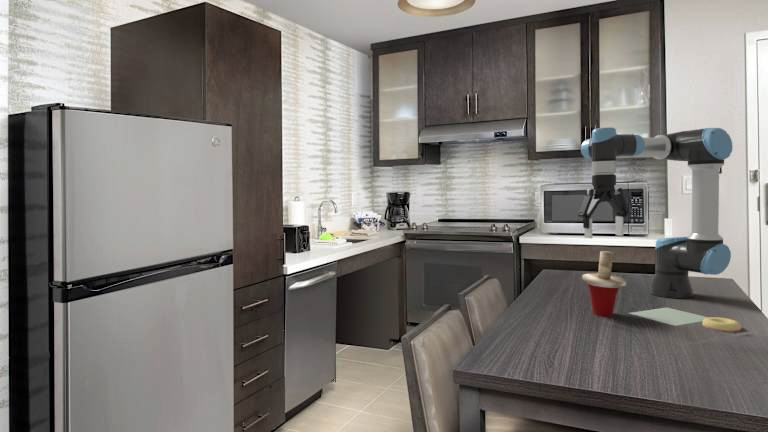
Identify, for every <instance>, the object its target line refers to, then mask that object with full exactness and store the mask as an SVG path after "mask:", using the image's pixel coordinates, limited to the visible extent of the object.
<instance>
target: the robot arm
mask: <svg viewBox="0 0 768 432" xmlns="http://www.w3.org/2000/svg"><path fill="white" fill-rule="evenodd" d="M591 132H592V133H591V138H588V139H585V140H584V141H583V142H582V144H581V146H580V152H581V155H582V157H584V158H585V159H588V160H589V159H590V160H591V173H592V174H593V175H592V176H591V185H592V186H593V188H586V189H585V192H584V194H585V195H584V198H583V199H582V200H583V201H582V202H581V205H580V208H579V211H578V213H577V216H578V217H579V218H580V219H583V220H582V222H583V223H582V225H583V226H582V227H583V229H584V238H585V239H593V218H591V217H592V215H594V212H595V211H596V209H597V208H598V206H599V204H601V203H604V202H605V203H606V202H607V203H609V205H610V206H611V208H612V209H613V211H614V212H615V214H616V216H615V218H614V219H615V220H614V221H615V236H620V237H621V236H622V237H623V236H624V226H625V217H628V215H629V214H630V211H629V210H630V209H629V207H628V205H627V202H626V199H625V198H624V194H623V188H622V187H615V186H616V185H617V175H616V174H615V173H616V172H617V159H623V158H626V159H627V158H629V159H630V158H653V159H655V160H661V161H662V160H665V161H675V162H687V167H688V168H689V169H691V171H692V172H691V173H692V174H691V175H692V176H691V233H690V234H689V235H688V236H677V237H676V236H675V237H663V238H658V239H657V240H655V248H654V254H655V256H654V258H655V261H654V262H655V264H654V265H655V266H654V267H655V271H654V272H655V275H654V278H653V280H652V283H651V285H650V294H651V295H654V296H657V297H662V298H670V299H671V298H672V299H687V298H693V297H694V289H693V287H692V283H691V280H690V277H689V272H691V273H692V272H693V273H698V274H703V275H714V276H715V275H720V274H722V273H723V272H724V271H726V269H727V268H728V267H729V264H730V261H731V257H732V253H731V249H730V247H729V246H728V245H726V244H725V243H724V237H722V236H721V234H720V233H719V220H720V218H719V215H720V214H719V211H720V209H719V207H720V206H719V205H720V200H719V199H720V169H721V168H722V167H723V166H724V165H725V160H727V159H728V158H729V157H730V156H731V153H732V152H733V141H732V138H731V136H730V134H729V133H728V132H727V131H726V130H725V129H724V128H721V127H706V128H699V129H693V130H692V129H691V130H683V131H678V132H672V133H667V134H657V135H656V136H653V137H643V136H641V135H640V134H635V133H629V134H628V133H627V134H626V133H624V134H623V133H622V134H618V133H617V128H615V127H609V126H607V127H599V128H598V127H597V128H594V129H593V130H592V131H591Z"/></svg>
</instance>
